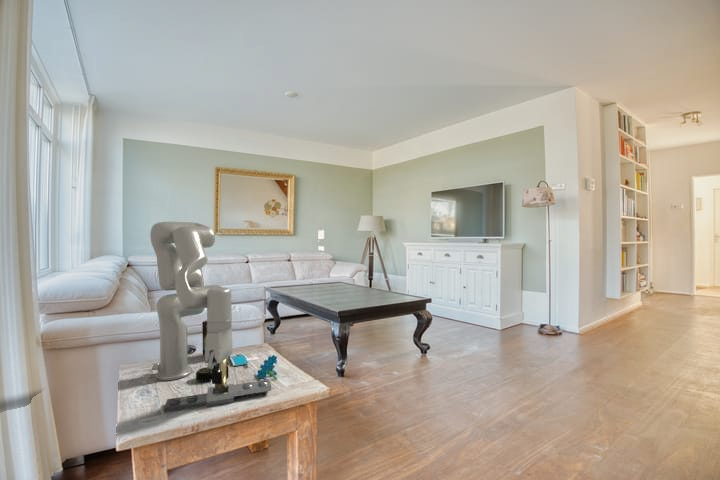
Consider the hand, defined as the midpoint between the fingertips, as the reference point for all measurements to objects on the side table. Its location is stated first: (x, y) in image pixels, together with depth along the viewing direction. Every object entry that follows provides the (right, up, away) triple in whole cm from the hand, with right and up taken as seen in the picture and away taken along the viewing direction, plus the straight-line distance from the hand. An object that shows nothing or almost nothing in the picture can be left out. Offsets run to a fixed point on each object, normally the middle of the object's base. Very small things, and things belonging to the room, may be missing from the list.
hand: (220, 380), depth 114 cm
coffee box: (-20, -7, +43) cm, 48 cm away
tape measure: (-12, -7, +17) cm, 22 cm away
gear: (+11, -6, +18) cm, 22 cm away
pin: (0, -2, 0) cm, 2 cm away
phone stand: (-4, -7, +37) cm, 38 cm away
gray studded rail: (0, -6, 0) cm, 6 cm away
